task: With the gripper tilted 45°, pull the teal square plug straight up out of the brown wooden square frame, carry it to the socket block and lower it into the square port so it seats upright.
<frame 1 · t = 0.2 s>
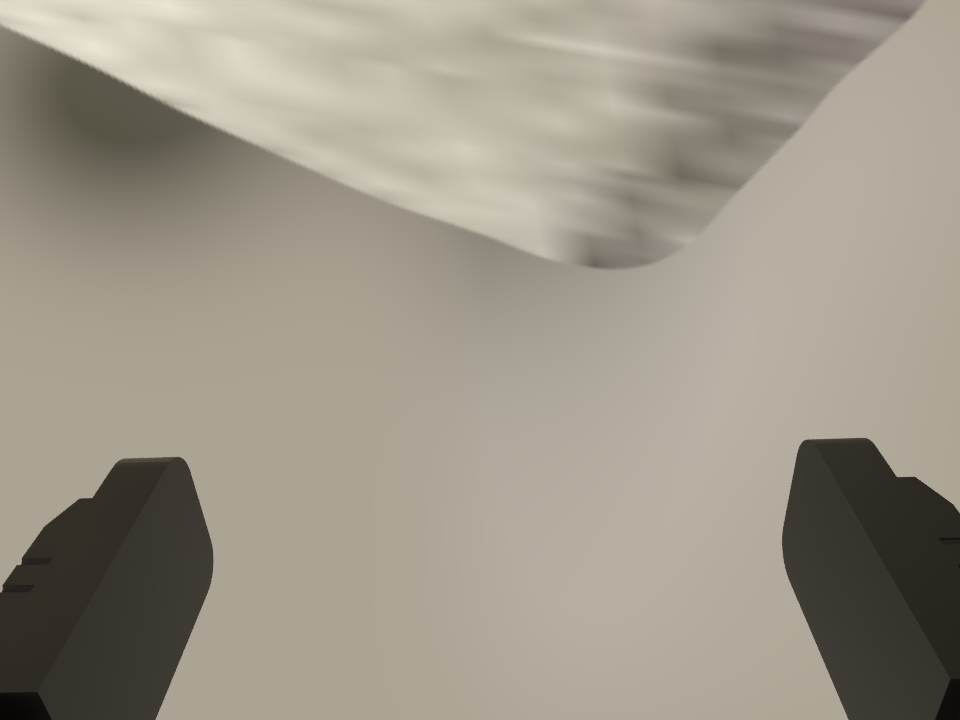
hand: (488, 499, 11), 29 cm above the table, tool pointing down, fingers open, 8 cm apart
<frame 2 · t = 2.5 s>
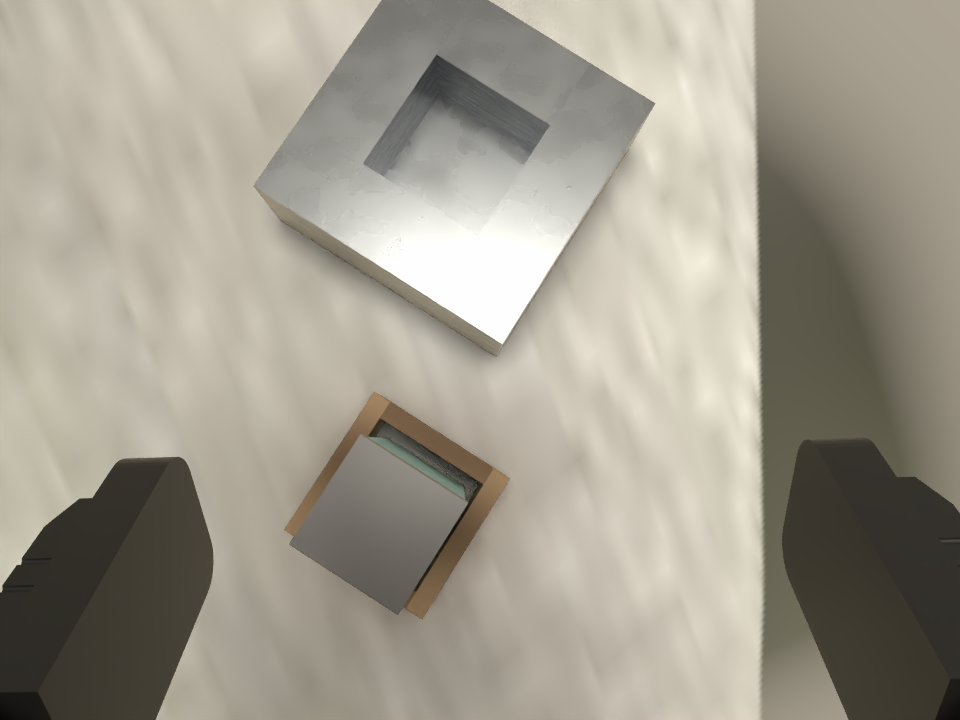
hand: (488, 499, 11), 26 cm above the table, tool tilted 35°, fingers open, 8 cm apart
brown wooden square frame: (402, 498, 36), on the table
port: (457, 183, 38), on the table
plug: (402, 498, 36), resting in brown wooden square frame
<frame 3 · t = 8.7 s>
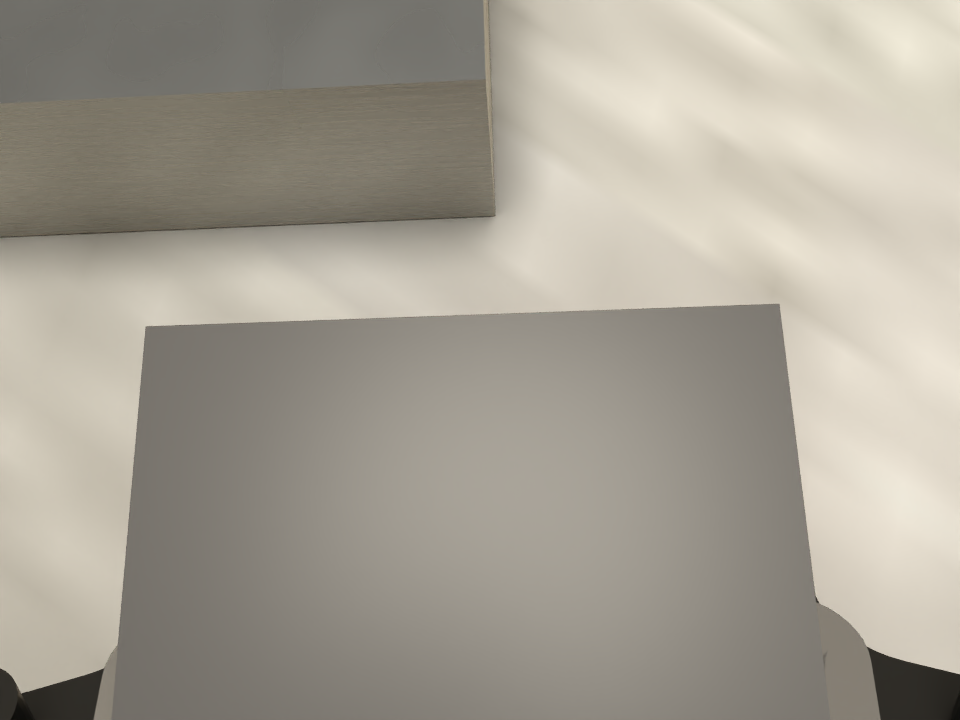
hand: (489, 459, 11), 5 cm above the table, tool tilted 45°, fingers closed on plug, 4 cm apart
plug: (502, 591, 15), resting in brown wooden square frame, touching gripper
when the fingers open (7 cm above the table, at t = 13.9 s): plug drops 2 cm, resting on port.
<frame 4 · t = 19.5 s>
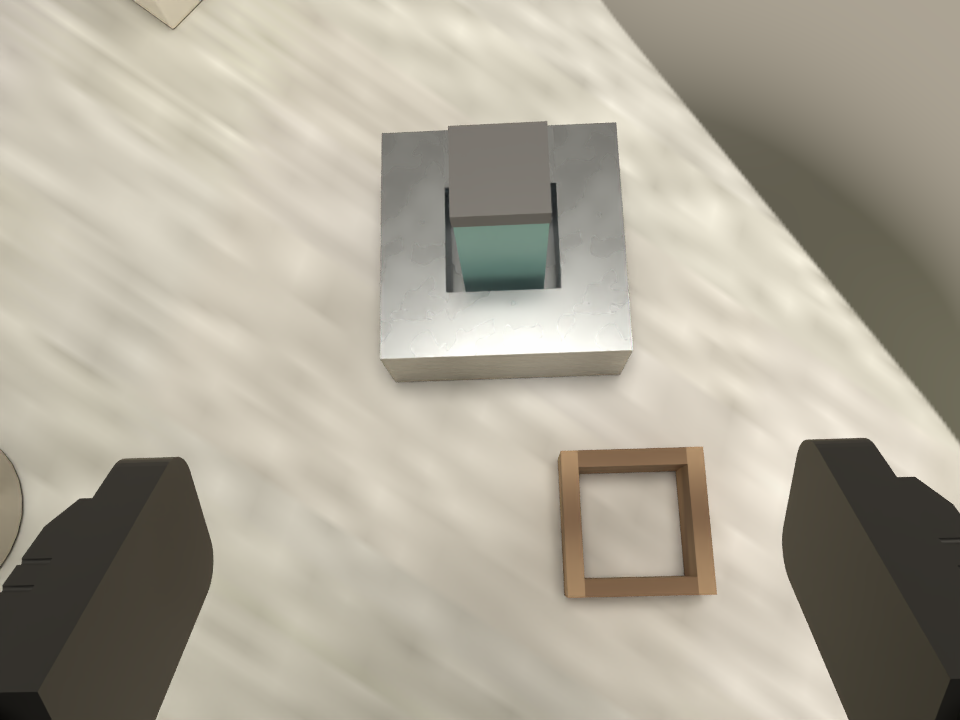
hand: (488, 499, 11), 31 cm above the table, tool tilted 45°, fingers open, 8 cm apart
brown wooden square frame: (628, 523, 40), on the table
port: (503, 272, 44), on the table
plug: (504, 266, 43), point 1 cm above the table, touching port
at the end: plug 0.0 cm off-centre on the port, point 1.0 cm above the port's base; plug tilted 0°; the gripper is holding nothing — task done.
